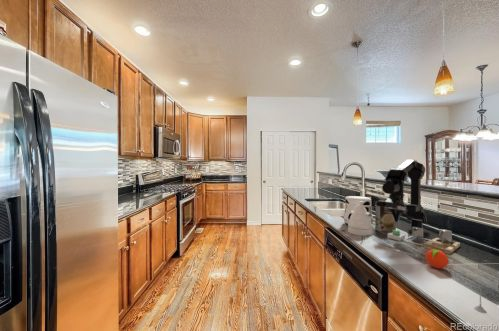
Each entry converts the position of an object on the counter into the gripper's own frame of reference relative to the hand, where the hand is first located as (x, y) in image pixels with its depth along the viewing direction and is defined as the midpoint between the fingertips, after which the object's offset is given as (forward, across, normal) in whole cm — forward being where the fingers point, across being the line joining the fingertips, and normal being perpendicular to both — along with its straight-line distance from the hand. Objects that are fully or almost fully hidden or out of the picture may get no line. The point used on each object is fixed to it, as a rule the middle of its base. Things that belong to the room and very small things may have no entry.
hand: (396, 221), depth 120 cm
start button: (+7, 0, 0) cm, 7 cm away
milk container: (+10, -27, +11) cm, 31 cm away
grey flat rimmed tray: (+10, +8, +4) cm, 13 cm away
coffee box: (+10, -11, +13) cm, 20 cm away
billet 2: (+9, +18, +9) cm, 22 cm away
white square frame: (+10, 0, 0) cm, 10 cm away
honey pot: (+10, -18, -3) cm, 21 cm away
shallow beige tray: (+10, +18, +4) cm, 21 cm away
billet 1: (+9, +8, +4) cm, 13 cm away
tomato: (+10, +23, -23) cm, 34 cm away
